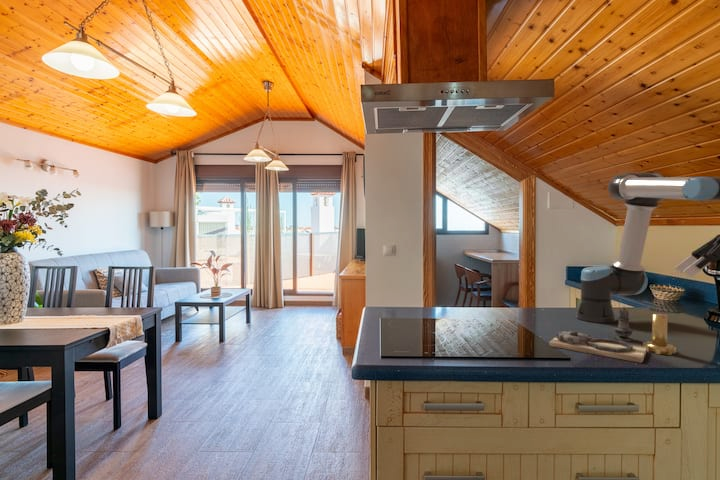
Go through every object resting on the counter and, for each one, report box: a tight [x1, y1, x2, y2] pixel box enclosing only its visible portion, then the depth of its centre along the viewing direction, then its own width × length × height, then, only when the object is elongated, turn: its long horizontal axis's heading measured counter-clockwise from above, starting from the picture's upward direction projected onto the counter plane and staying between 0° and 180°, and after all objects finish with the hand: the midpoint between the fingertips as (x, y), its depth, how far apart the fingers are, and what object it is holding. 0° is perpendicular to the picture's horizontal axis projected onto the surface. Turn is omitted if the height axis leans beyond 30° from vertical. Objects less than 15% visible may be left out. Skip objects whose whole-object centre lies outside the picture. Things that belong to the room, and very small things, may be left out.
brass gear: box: [642, 313, 677, 356], centre depth 129 cm, size 9×9×12 cm
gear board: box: [548, 330, 648, 364], centre depth 131 cm, size 14×26×4 cm, turn 49°
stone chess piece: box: [613, 306, 634, 342], centre depth 143 cm, size 6×6×12 cm
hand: (682, 272), depth 128 cm, fingers open, 13 cm apart
